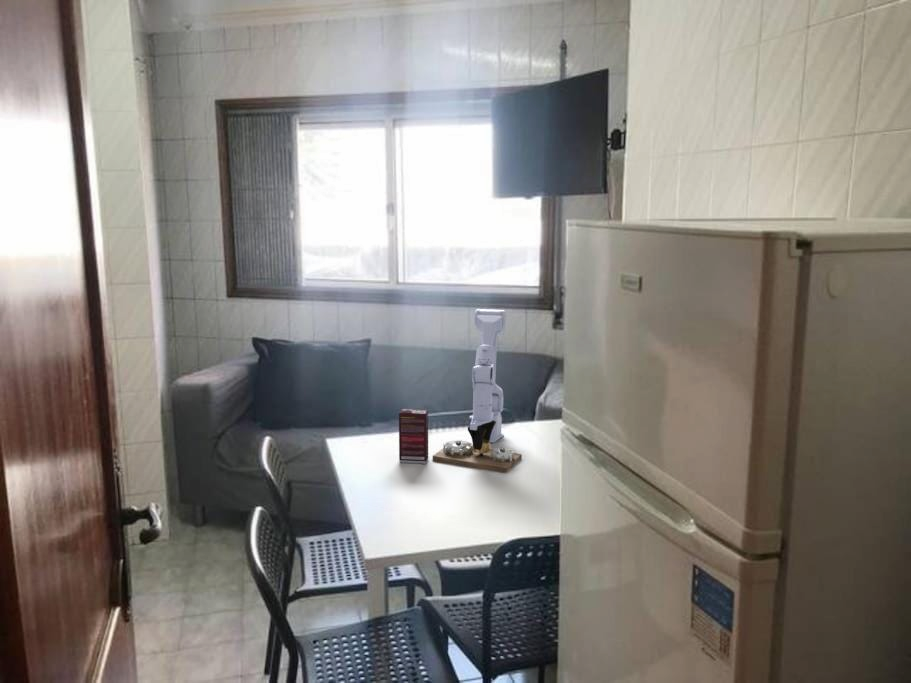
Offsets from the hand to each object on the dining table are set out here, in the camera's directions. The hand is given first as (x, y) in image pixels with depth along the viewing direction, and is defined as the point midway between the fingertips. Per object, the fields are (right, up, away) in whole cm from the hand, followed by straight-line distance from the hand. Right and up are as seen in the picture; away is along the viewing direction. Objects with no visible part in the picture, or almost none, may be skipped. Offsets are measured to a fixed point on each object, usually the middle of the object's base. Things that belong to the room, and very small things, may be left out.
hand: (481, 446), depth 232 cm
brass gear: (0, -1, 0) cm, 1 cm away
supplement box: (-21, -5, -1) cm, 21 cm away
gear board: (-1, -4, +1) cm, 5 cm away
